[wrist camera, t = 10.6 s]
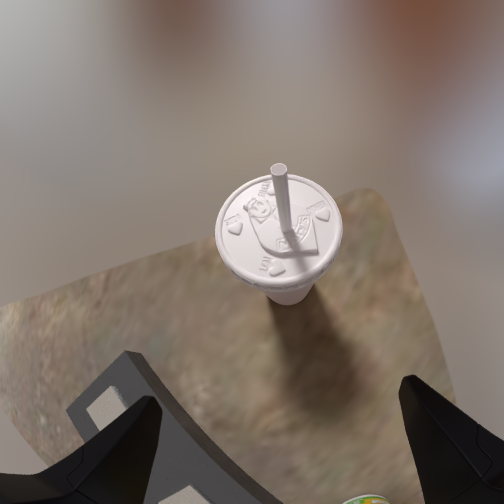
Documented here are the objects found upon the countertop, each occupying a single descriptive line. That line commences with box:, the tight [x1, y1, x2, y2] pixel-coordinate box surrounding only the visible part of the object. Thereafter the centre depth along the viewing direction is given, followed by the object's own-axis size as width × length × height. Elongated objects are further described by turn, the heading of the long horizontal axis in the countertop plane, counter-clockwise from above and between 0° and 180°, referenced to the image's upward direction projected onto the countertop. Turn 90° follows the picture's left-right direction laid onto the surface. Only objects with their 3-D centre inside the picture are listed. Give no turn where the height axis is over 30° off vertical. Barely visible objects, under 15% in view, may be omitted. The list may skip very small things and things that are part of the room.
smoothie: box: [215, 163, 342, 305], centre depth 16 cm, size 6×6×14 cm
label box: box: [66, 351, 283, 504], centre depth 16 cm, size 18×10×3 cm, turn 44°
